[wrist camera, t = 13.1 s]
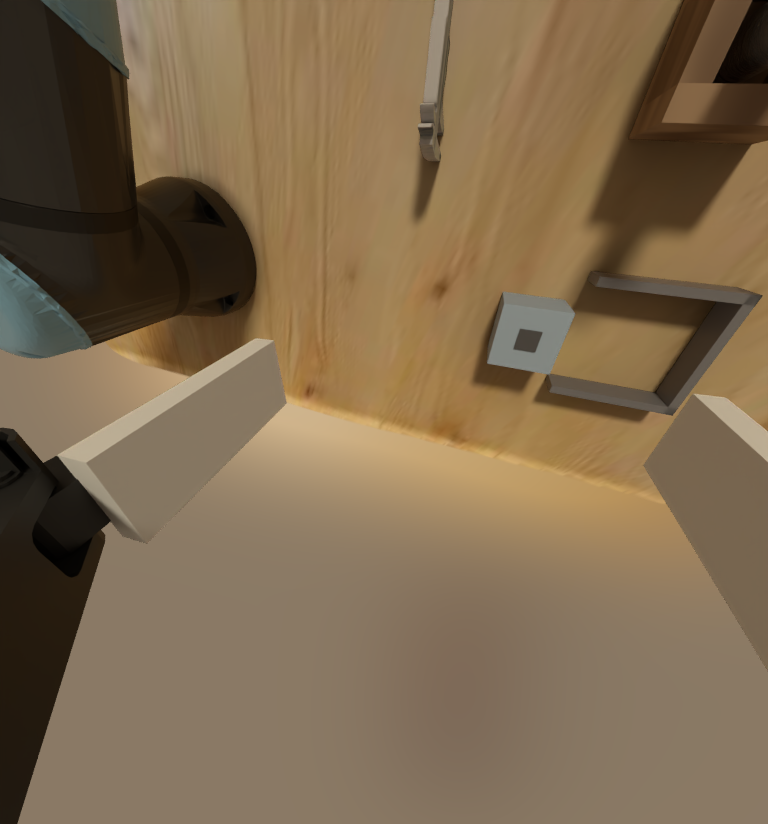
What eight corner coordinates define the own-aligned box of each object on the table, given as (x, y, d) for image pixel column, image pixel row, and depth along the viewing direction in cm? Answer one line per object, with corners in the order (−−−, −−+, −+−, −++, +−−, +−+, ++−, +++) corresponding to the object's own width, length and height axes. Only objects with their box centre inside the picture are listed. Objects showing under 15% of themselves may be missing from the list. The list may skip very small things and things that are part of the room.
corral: (545, 379, 35) (549, 392, 33) (591, 270, 28) (600, 276, 26) (659, 400, 33) (672, 415, 30) (738, 287, 26) (762, 295, 24)
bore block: (627, 139, 24) (661, 122, 19) (695, -31, 19) (763, -111, 14) (749, 144, 22) (820, 127, 17) (856, -40, 17) (993, -133, 13)
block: (487, 345, 35) (487, 363, 31) (502, 291, 32) (504, 303, 28) (542, 354, 34) (549, 374, 30) (564, 299, 30) (575, 313, 26)
